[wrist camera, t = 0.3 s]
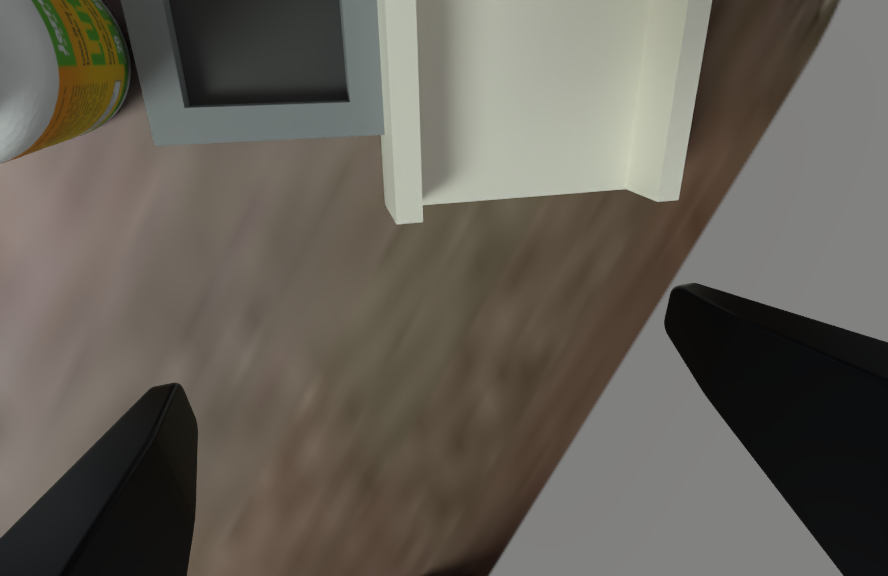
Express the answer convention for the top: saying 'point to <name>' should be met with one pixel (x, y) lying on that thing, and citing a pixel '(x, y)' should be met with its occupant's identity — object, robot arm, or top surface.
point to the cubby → (536, 98)
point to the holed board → (257, 69)
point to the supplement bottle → (58, 72)
